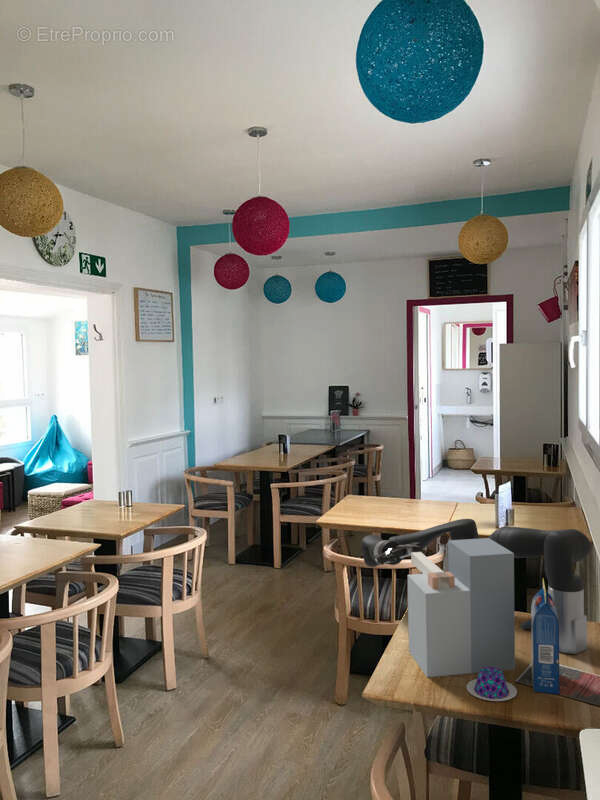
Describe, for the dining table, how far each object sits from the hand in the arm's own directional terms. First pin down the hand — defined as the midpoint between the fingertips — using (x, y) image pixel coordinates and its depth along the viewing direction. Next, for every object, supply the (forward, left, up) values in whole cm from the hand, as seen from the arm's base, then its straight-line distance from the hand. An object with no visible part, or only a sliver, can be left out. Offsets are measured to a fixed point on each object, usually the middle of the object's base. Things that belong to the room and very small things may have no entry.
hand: (406, 554), depth 202 cm
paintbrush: (-24, -36, -25) cm, 50 cm away
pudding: (-38, +10, -25) cm, 46 cm away
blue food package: (-44, -4, -25) cm, 50 cm away
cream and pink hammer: (-12, +4, -2) cm, 13 cm away
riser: (-22, +2, -24) cm, 33 cm away
